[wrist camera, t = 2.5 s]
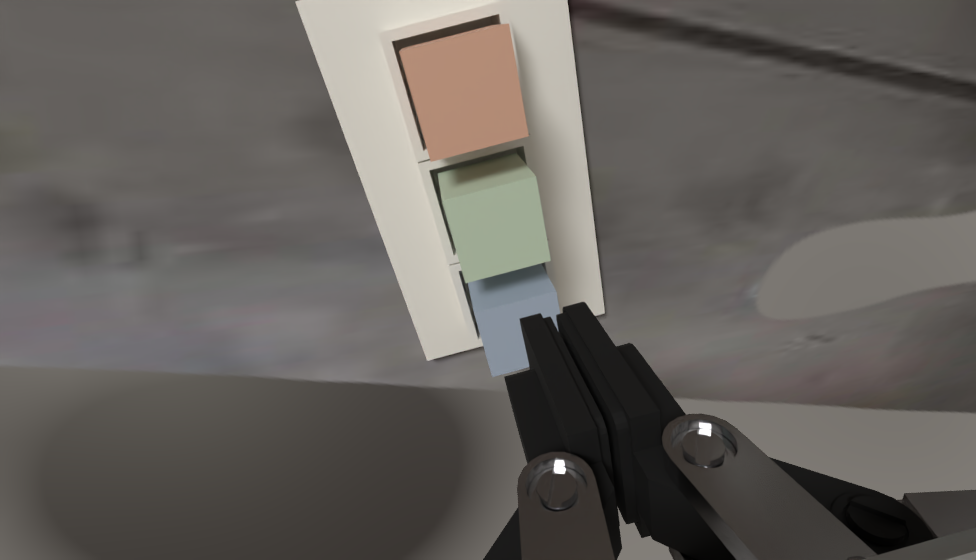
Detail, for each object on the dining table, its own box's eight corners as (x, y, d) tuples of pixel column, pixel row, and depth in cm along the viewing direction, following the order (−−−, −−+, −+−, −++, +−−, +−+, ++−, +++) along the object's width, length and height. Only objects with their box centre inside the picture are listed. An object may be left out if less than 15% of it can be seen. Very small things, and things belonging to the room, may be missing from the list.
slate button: (535, 253, 30) (556, 291, 25) (546, 312, 32) (567, 356, 27) (465, 271, 30) (473, 313, 25) (481, 329, 32) (492, 376, 27)
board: (554, -63, 25) (577, -79, 21) (600, 306, 36) (619, 335, 33) (299, 2, 25) (280, -3, 21) (427, 352, 36) (428, 386, 33)
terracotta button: (491, 25, 23) (508, 23, 19) (509, 118, 26) (528, 136, 21) (402, 48, 23) (399, 51, 19) (428, 139, 25) (430, 161, 21)
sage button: (516, 152, 26) (535, 176, 22) (530, 225, 29) (550, 260, 24) (437, 173, 26) (441, 200, 22) (458, 245, 29) (465, 283, 24)
